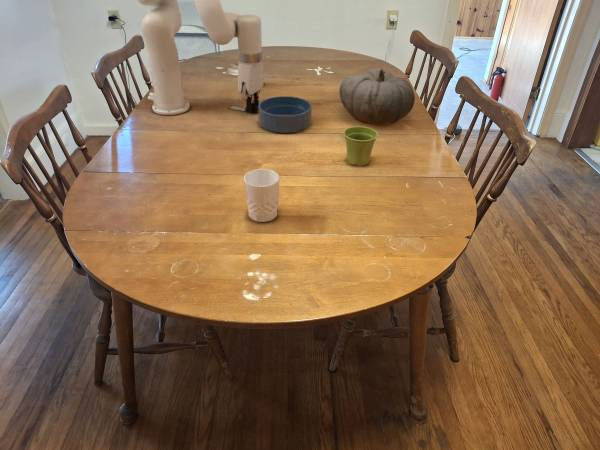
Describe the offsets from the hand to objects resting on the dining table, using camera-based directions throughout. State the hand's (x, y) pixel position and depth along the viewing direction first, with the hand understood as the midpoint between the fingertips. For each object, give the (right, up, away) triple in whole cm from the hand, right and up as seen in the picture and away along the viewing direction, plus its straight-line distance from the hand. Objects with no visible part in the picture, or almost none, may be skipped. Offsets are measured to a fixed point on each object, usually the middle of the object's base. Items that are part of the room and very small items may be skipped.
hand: (253, 111), depth 159 cm
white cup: (+8, -37, -50) cm, 63 cm away
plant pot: (+33, -21, -28) cm, 48 cm away
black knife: (-3, +1, +1) cm, 3 cm away
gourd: (+42, -3, -2) cm, 42 cm away
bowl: (+11, -6, -7) cm, 15 cm away
